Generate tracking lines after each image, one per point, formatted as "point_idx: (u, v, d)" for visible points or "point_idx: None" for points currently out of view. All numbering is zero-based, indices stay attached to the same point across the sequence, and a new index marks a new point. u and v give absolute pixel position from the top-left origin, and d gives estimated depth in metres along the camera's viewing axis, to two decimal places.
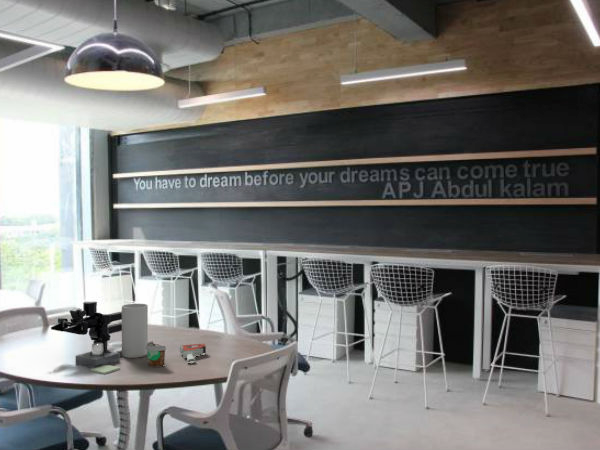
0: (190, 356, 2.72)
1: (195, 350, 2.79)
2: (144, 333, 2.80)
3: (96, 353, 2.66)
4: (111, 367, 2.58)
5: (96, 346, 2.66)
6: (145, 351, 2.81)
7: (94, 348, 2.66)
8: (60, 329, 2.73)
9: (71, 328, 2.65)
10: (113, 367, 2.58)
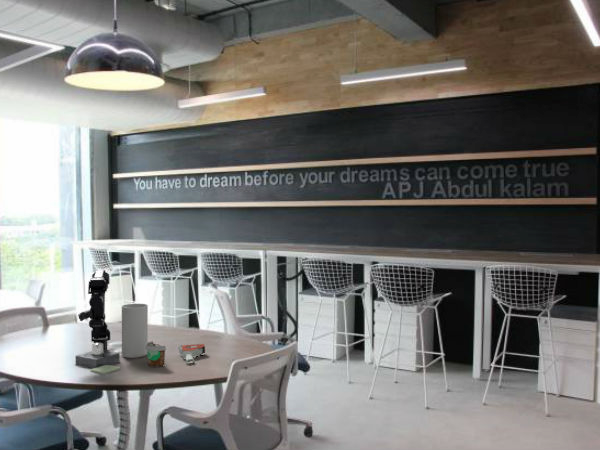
0: (189, 356, 2.71)
1: (194, 350, 2.78)
2: (144, 333, 2.80)
3: (96, 353, 2.66)
4: (111, 367, 2.58)
5: (96, 346, 2.66)
6: (145, 351, 2.81)
7: (94, 348, 2.66)
8: None
9: (95, 333, 2.63)
10: (113, 367, 2.58)
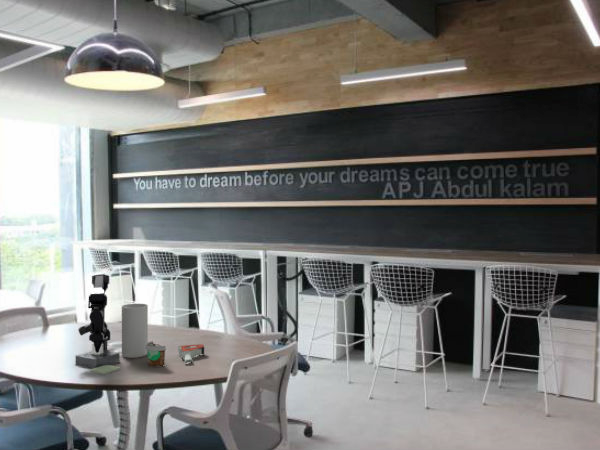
0: (188, 357, 2.71)
1: (193, 351, 2.78)
2: (145, 333, 2.80)
3: (96, 353, 2.66)
4: (111, 367, 2.58)
5: None
6: (145, 351, 2.81)
7: (94, 348, 2.66)
8: None
9: (96, 346, 2.65)
10: (113, 367, 2.58)
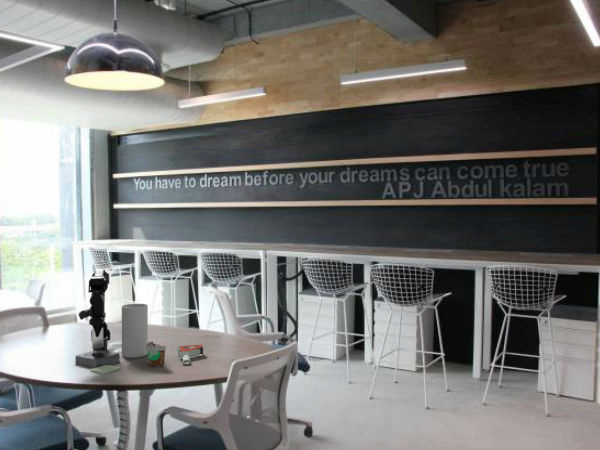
0: (186, 357, 2.70)
1: (192, 351, 2.77)
2: (144, 333, 2.80)
3: (96, 337, 2.66)
4: (111, 367, 2.58)
5: None
6: (145, 351, 2.81)
7: (94, 332, 2.66)
8: None
9: (96, 330, 2.64)
10: (113, 367, 2.58)
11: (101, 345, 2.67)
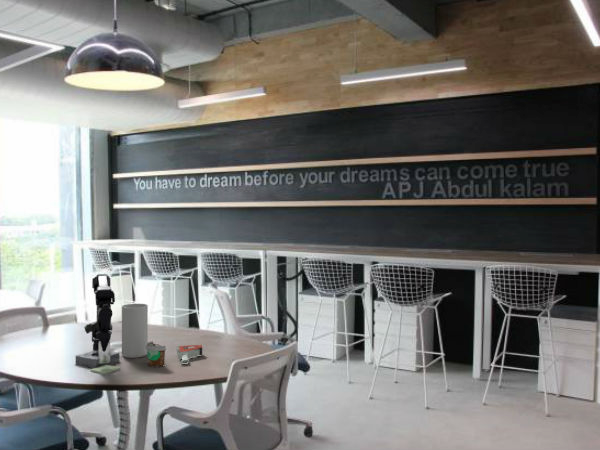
0: (184, 357, 2.70)
1: (191, 351, 2.77)
2: (145, 333, 2.80)
3: (103, 352, 2.54)
4: (111, 367, 2.58)
5: None
6: (145, 351, 2.81)
7: (101, 347, 2.54)
8: None
9: (102, 345, 2.53)
10: (113, 367, 2.58)
11: (108, 360, 2.56)
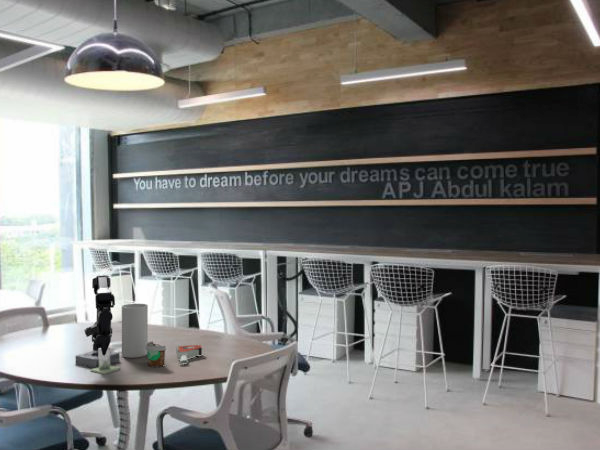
0: (183, 357, 2.69)
1: (190, 351, 2.76)
2: (145, 333, 2.80)
3: (103, 358, 2.54)
4: (111, 367, 2.58)
5: None
6: (145, 351, 2.81)
7: (100, 353, 2.54)
8: None
9: (102, 348, 2.52)
10: (113, 367, 2.58)
11: (108, 366, 2.56)
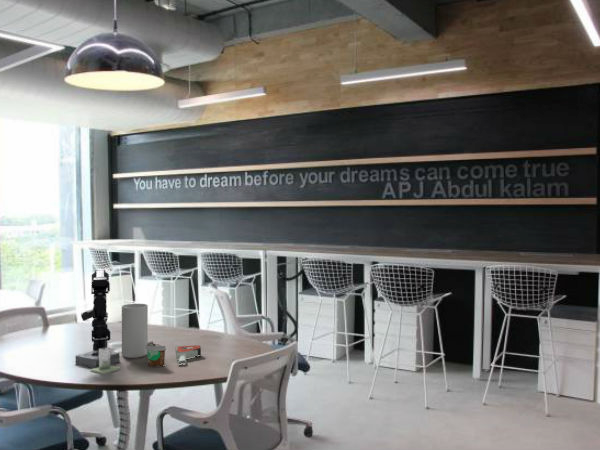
0: (182, 358, 2.69)
1: (189, 352, 2.76)
2: (144, 333, 2.80)
3: (103, 358, 2.54)
4: (111, 367, 2.58)
5: (103, 351, 2.54)
6: (145, 351, 2.81)
7: (101, 353, 2.54)
8: None
9: (98, 332, 2.63)
10: (113, 367, 2.58)
11: (108, 366, 2.56)
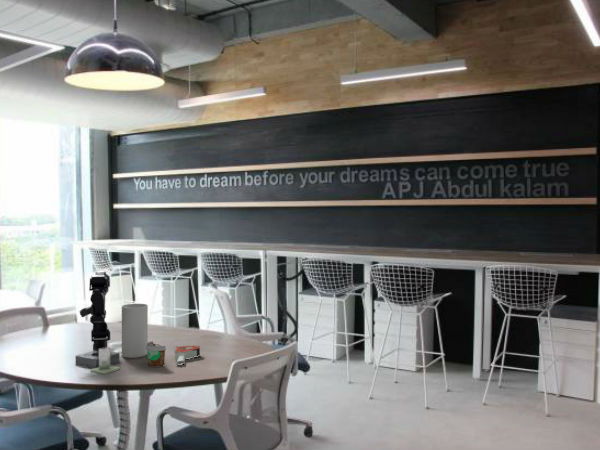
0: (180, 358, 2.68)
1: (188, 352, 2.75)
2: (144, 333, 2.80)
3: (103, 358, 2.54)
4: (111, 367, 2.58)
5: (103, 351, 2.54)
6: (145, 351, 2.81)
7: (101, 353, 2.54)
8: None
9: (96, 329, 2.68)
10: (113, 367, 2.58)
11: (108, 366, 2.56)
